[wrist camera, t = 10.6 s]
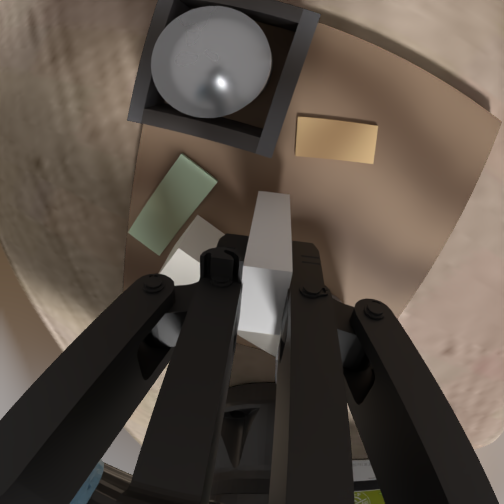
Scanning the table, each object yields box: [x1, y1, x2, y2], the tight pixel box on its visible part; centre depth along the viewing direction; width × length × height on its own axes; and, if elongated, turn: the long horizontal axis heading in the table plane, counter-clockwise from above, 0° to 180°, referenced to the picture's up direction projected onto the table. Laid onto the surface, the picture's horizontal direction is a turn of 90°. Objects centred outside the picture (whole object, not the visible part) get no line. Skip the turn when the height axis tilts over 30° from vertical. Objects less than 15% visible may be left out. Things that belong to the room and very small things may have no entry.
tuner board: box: [123, 0, 502, 350], centre depth 17 cm, size 20×18×4 cm
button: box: [151, 6, 273, 118], centre depth 11 cm, size 4×4×3 cm
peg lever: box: [158, 215, 342, 384], centre depth 17 cm, size 12×4×5 cm, turn 52°
